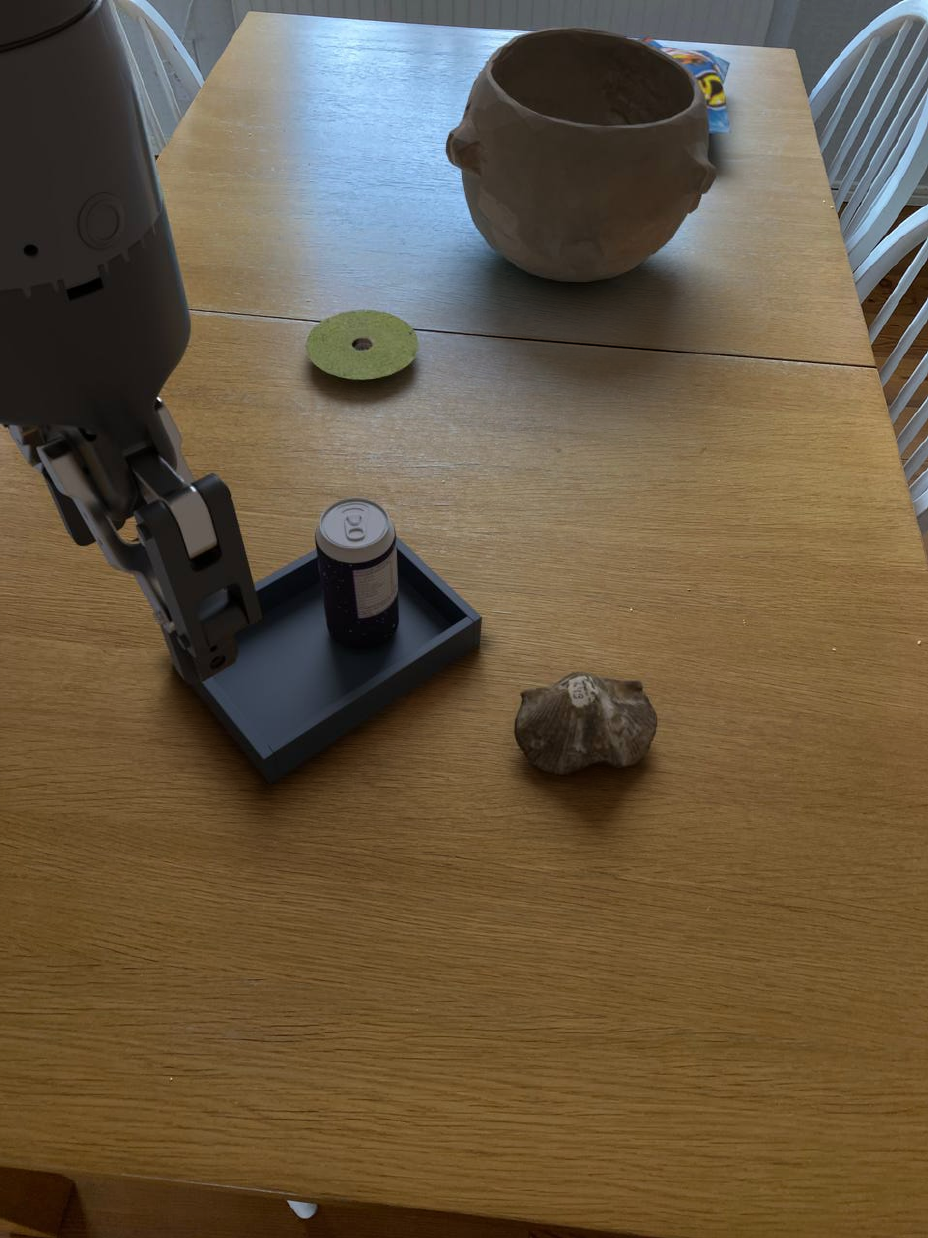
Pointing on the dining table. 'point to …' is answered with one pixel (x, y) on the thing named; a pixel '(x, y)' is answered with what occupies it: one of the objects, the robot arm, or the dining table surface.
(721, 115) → the packet
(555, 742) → the fossilized seashell
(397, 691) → the dark blue tray
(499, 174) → the bowl
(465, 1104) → the dining table surface
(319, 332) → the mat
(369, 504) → the beverage can
